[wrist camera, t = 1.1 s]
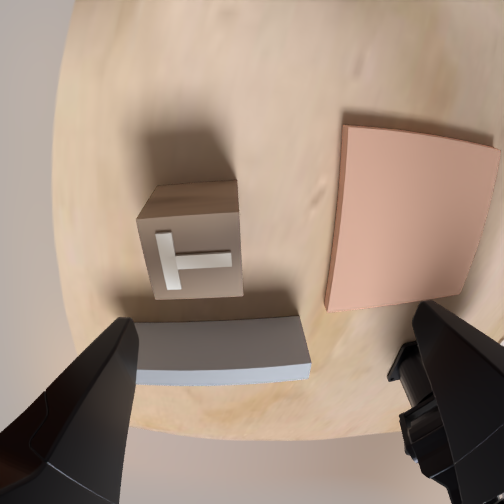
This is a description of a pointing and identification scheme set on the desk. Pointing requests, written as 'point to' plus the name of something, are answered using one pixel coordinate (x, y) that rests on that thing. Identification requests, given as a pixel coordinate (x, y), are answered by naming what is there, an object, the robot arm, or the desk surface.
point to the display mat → (406, 216)
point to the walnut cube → (192, 240)
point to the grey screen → (222, 352)
